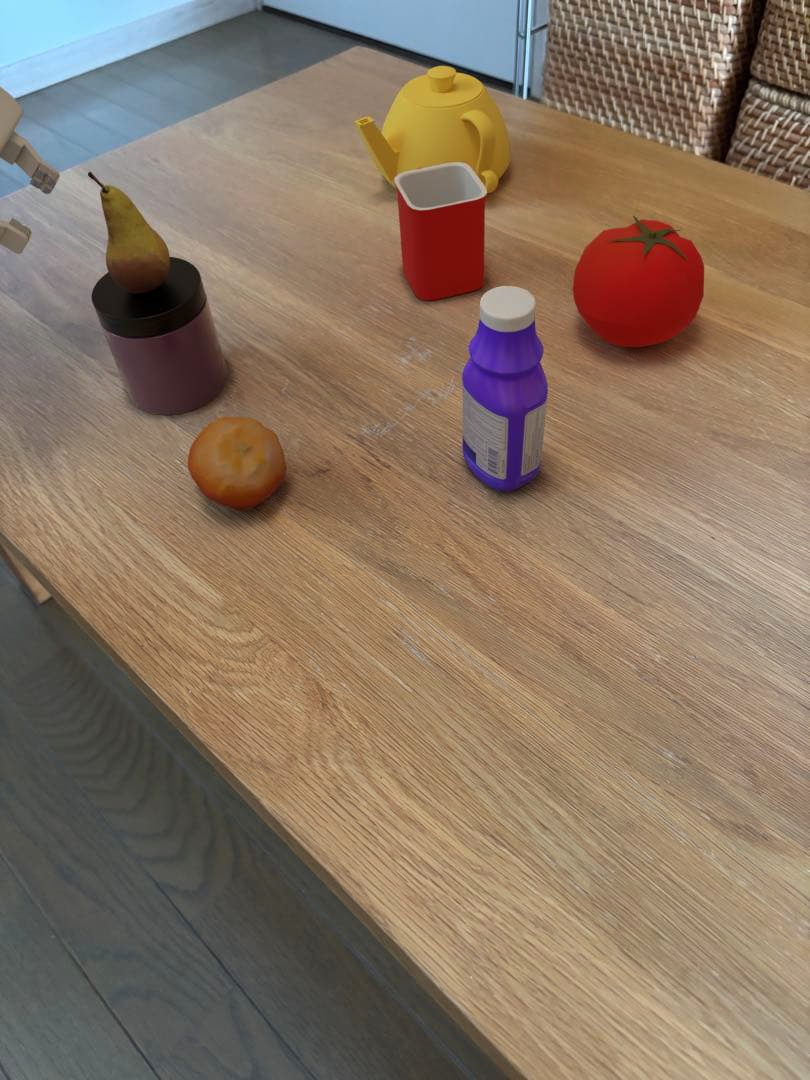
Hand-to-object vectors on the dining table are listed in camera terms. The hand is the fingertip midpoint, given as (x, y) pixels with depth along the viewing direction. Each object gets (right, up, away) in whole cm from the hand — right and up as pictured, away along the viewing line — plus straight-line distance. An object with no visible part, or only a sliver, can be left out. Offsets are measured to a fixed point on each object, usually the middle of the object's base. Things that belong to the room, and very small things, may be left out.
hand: (41, 213), depth 72 cm
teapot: (+35, +18, +37) cm, 54 cm away
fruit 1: (+7, -5, +6) cm, 10 cm away
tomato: (+54, -6, +16) cm, 56 cm away
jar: (+8, -12, +14) cm, 20 cm away
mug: (+34, +3, +25) cm, 42 cm away
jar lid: (+7, -5, +6) cm, 11 cm away
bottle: (+39, -21, +4) cm, 45 cm away
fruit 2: (+16, -23, +4) cm, 29 cm away
